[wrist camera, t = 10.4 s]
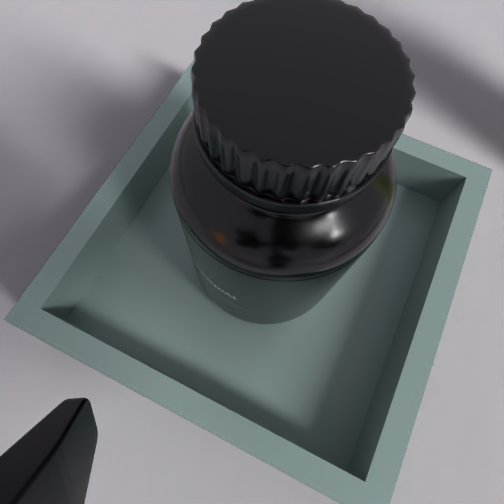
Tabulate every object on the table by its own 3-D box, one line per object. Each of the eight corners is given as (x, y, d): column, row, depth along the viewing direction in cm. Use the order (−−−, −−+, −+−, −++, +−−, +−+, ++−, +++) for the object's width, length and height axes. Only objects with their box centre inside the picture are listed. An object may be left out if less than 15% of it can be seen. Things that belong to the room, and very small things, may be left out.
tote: (454, 203, 22) (492, 169, 19) (354, 501, 17) (382, 526, 13) (204, 99, 24) (198, 52, 21) (45, 333, 19) (4, 319, 15)
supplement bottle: (178, 308, 18) (78, 164, 7) (218, 186, 21) (190, -66, 9) (320, 345, 18) (456, 253, 7) (344, 216, 20) (472, -12, 9)
